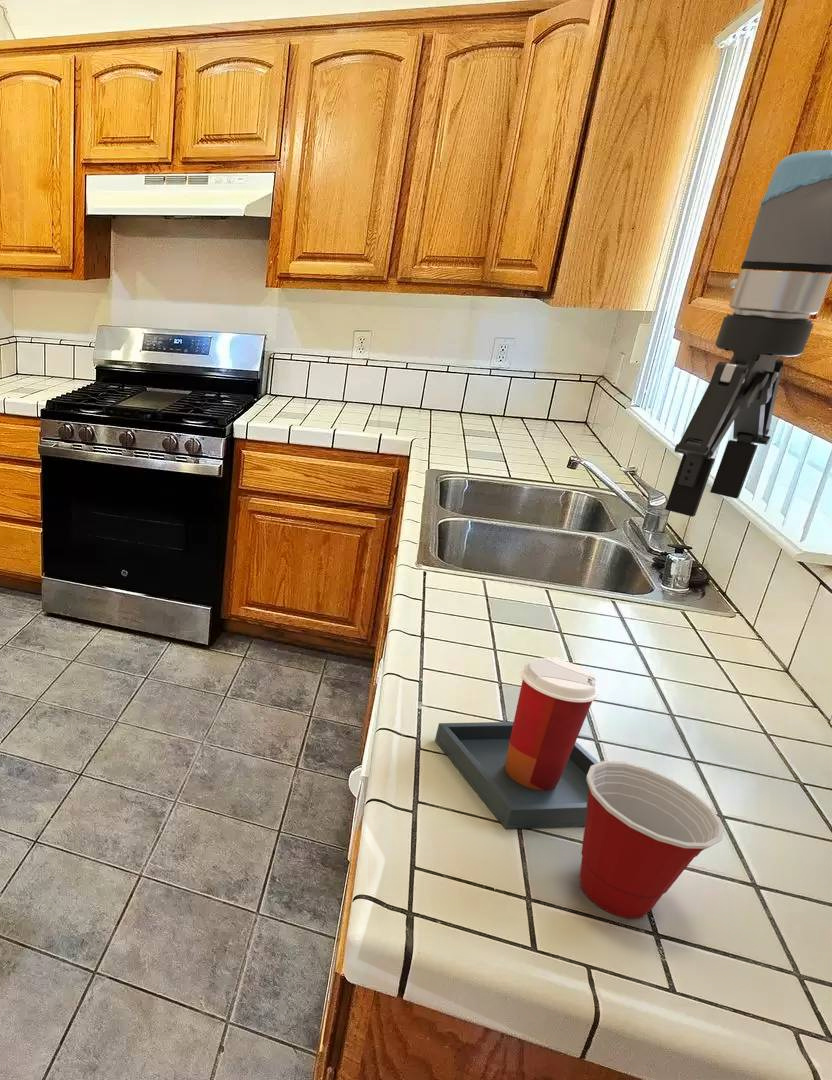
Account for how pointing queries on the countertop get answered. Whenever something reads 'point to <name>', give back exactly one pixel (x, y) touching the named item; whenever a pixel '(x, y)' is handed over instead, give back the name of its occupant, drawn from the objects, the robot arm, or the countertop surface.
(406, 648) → the countertop surface
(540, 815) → the tray
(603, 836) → the plastic cup
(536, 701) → the paper cup
